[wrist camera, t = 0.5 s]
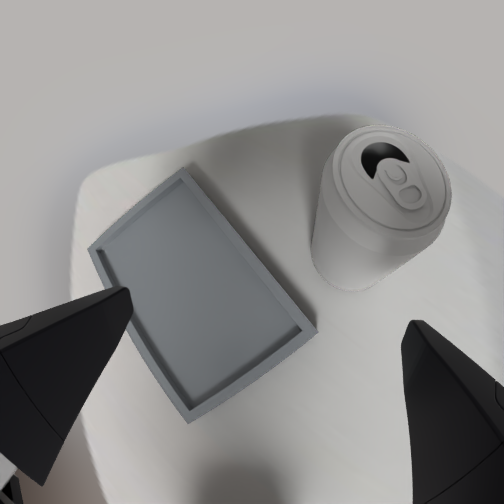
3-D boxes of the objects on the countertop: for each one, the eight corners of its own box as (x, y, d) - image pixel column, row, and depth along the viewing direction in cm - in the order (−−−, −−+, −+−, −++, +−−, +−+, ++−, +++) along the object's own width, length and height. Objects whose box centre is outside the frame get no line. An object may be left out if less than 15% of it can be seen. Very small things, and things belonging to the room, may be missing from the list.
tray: (316, 332, 20) (318, 332, 19) (194, 419, 20) (188, 424, 18) (189, 175, 26) (183, 167, 25) (96, 253, 25) (87, 248, 24)
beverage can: (362, 204, 23) (402, 105, 11) (400, 270, 21) (481, 209, 9) (296, 236, 23) (295, 141, 11) (333, 307, 21) (376, 275, 9)
